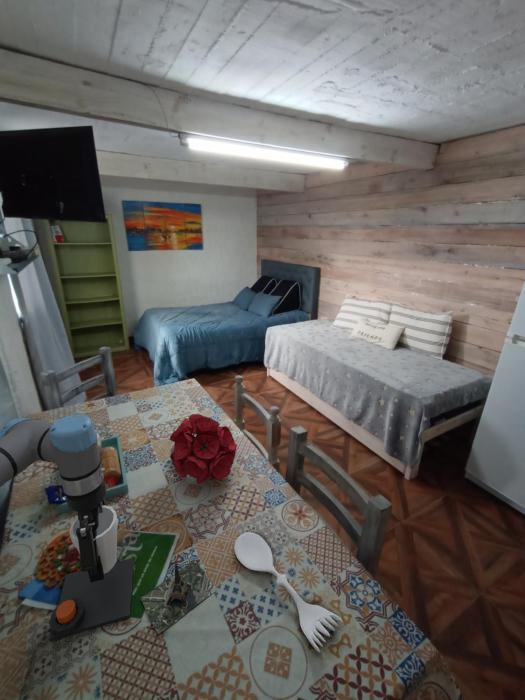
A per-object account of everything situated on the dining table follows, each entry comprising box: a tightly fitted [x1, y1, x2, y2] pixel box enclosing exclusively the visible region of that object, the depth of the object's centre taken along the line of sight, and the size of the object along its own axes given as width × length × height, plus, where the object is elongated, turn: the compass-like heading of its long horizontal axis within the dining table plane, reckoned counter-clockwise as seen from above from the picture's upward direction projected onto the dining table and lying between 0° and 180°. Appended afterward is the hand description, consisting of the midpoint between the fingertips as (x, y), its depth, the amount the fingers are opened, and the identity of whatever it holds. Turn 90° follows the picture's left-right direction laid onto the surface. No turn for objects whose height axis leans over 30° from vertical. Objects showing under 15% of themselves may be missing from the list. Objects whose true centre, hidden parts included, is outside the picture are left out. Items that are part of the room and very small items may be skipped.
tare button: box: [56, 600, 76, 624], centre depth 70 cm, size 4×4×2 cm
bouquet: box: [168, 413, 238, 485], centre depth 113 cm, size 22×24×30 cm
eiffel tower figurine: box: [140, 558, 217, 635], centre depth 75 cm, size 15×10×13 cm
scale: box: [48, 557, 135, 642], centre depth 75 cm, size 16×14×3 cm
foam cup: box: [69, 505, 119, 574], centre depth 73 cm, size 10×9×13 cm
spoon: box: [233, 531, 344, 653], centre depth 79 cm, size 9×32×4 cm, turn 41°
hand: (101, 558), depth 75 cm, fingers closed on foam cup, 9 cm apart
